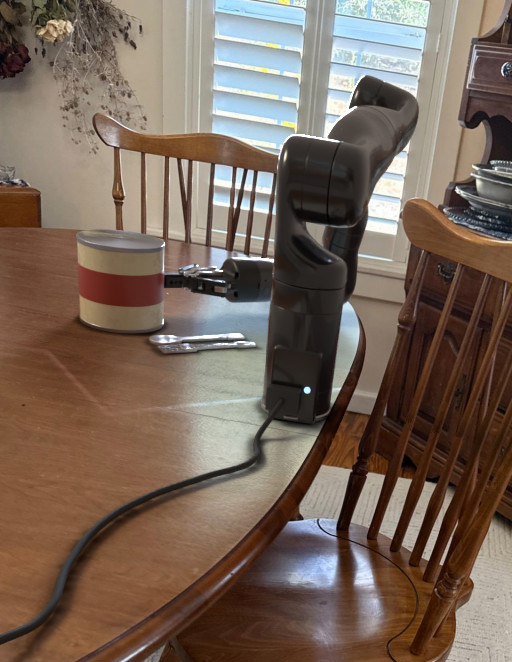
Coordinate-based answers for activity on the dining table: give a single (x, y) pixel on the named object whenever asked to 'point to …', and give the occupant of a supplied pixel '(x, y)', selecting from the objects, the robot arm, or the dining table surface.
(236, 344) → the fork
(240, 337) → the spoon
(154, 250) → the coffee tin
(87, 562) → the dining table surface
